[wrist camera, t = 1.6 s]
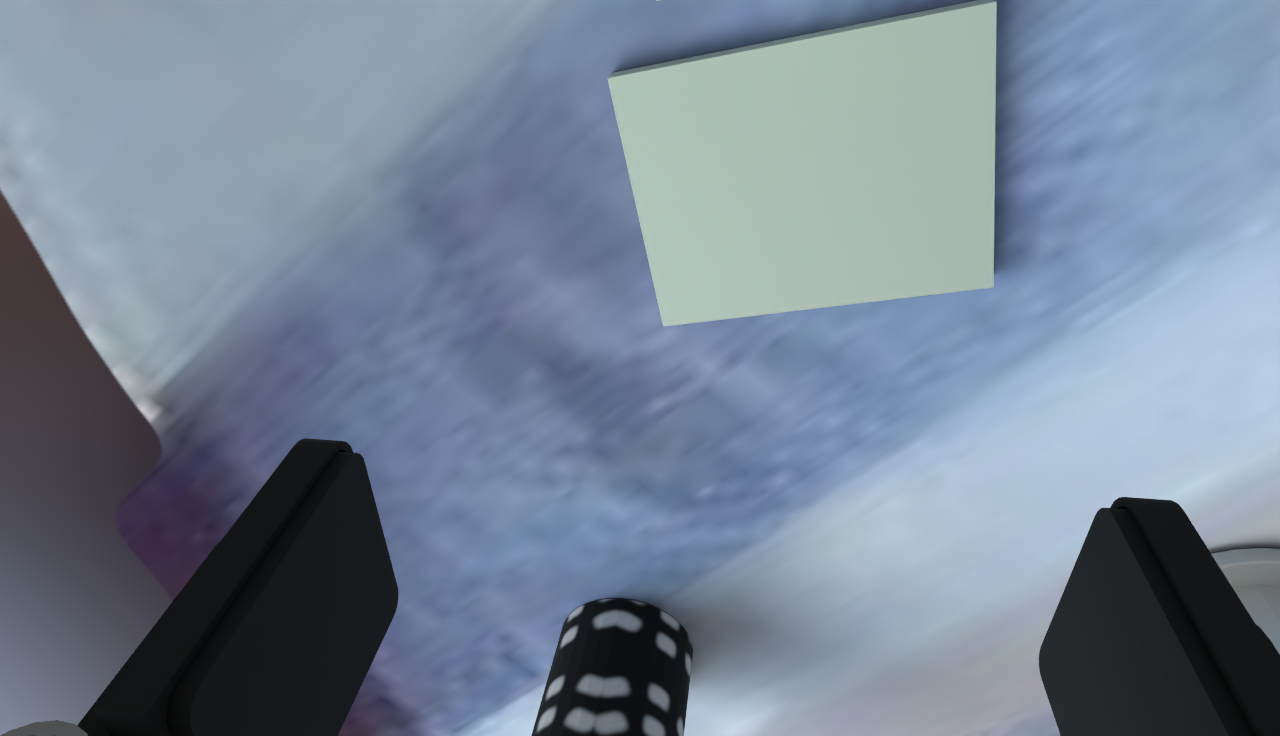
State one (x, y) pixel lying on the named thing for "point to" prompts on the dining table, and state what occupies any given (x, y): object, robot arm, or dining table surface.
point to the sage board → (817, 166)
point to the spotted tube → (617, 673)
